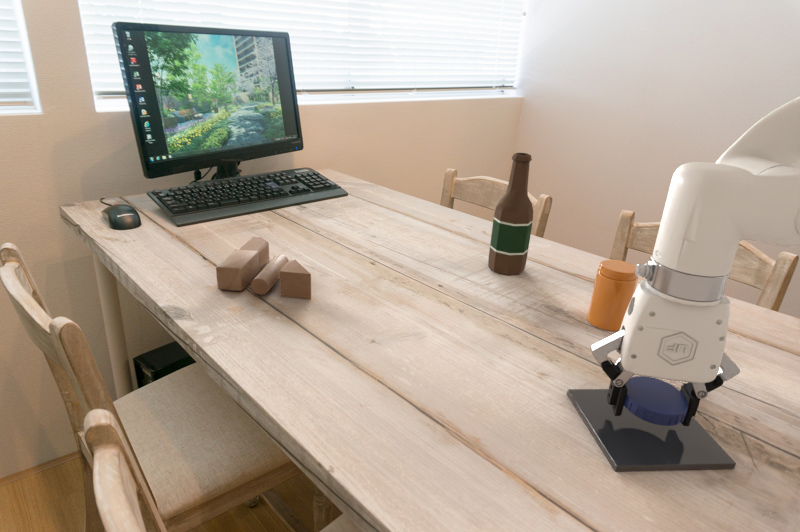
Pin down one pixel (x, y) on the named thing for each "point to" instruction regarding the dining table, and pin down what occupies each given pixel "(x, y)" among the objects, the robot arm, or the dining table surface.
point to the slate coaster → (646, 438)
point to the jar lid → (655, 401)
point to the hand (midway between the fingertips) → (648, 412)
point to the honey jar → (612, 294)
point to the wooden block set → (247, 265)
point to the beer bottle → (512, 222)
